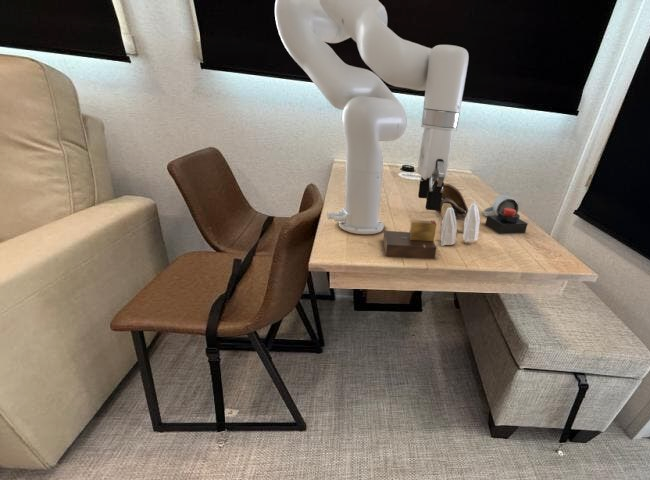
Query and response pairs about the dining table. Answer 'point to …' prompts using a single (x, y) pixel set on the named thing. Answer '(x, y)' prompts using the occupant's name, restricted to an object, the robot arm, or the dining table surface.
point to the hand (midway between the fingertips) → (428, 203)
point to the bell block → (506, 223)
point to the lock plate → (407, 246)
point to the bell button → (509, 212)
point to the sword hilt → (452, 202)
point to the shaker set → (469, 226)
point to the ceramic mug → (502, 205)
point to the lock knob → (422, 230)
